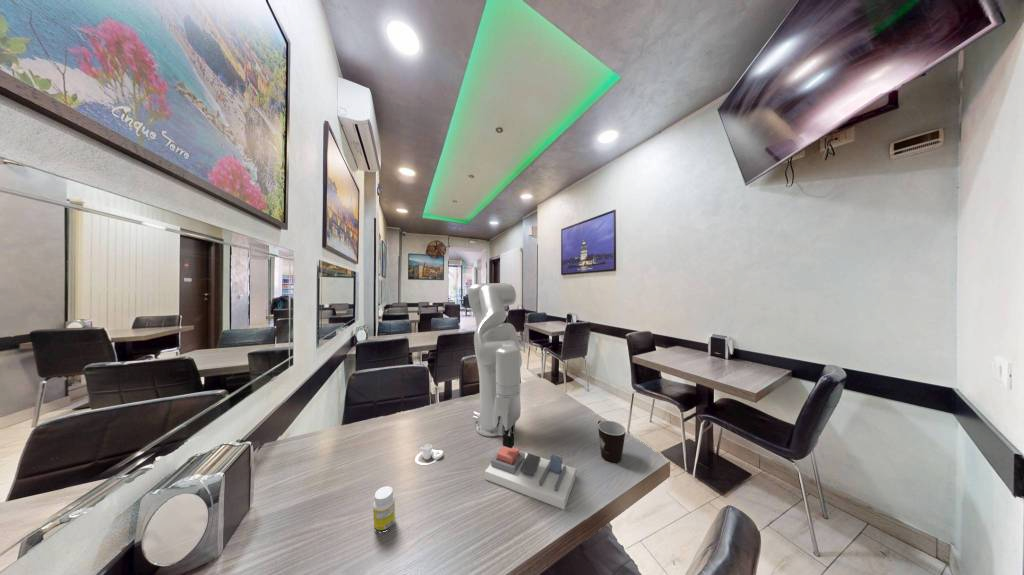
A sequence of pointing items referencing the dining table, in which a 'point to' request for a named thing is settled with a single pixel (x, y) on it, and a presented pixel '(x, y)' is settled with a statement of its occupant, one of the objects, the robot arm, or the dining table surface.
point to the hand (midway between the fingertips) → (508, 445)
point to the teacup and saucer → (428, 454)
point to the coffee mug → (611, 440)
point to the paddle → (556, 464)
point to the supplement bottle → (384, 509)
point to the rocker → (530, 464)
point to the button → (508, 455)
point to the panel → (534, 480)
